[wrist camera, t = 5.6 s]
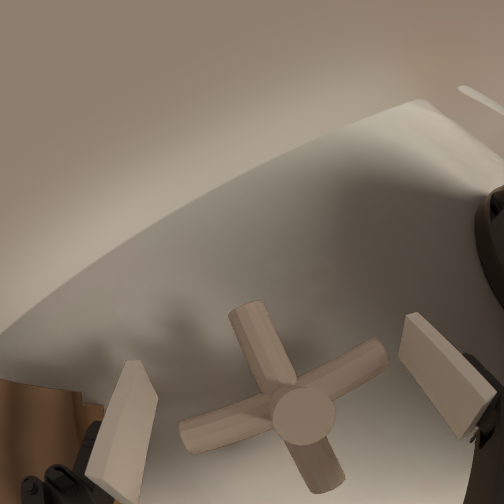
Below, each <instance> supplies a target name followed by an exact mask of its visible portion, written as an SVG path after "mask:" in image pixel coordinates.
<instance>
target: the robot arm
mask: <svg viewBox="0 0 504 504" xmlns="http://www.w3.org/2000/svg"><path fill="white" fill-rule="evenodd" d="M475 234H476V241H477V246H478V251H479V255H480V258H481V262H482V265H483V268H484V270H485V273H486V276H487V278H488V280H489V283H490V285H491V287H492V289H493V291H494V293H495V295H496V296H497V298H498V300H499V301H500V303H501V304H502V306H503V307H504V185H503V186H501V187H499V188H497V189H495V190H493V191H492V192H491V193H490V194H489V195H488V196H487V197H486V198H485V200H484V201H483V202H482V203H481V204H480V206H479V207H478V210H477V213H476V218H475ZM398 357H399V359H400V360H401V361H402V362H403V364H404V365H405V366H406V368H407V369H408V370H409V372H410V373H411V374H412V376H413V377H414V378H415V380H416V381H417V382H418V384H419V385H420V386H421V388H422V389H423V390H424V392H425V393H426V395H427V396H428V397H429V399H430V400H431V401H432V403H433V404H434V406H435V407H436V408H437V410H438V411H439V413H440V414H441V415H442V417H443V418H444V420H445V421H446V423H447V424H448V425H449V427H450V428H451V430H452V431H453V433H454V434H455V436H456V437H457V439H458V440H460V439H462V438H464V437H465V436H467V435H468V434H470V433H471V432H472V430H473V429H474V427H475V426H476V425H477V426H478V428H479V429H478V430H477V432H476V433H475V434H474V436H473V437H472V438H471V441H470V443H472V442H473V441H474V439H475V438H476V441H475V450H474V457H473V463H472V468H471V473H470V478H469V482H468V487H467V491H466V495H465V498H464V502H463V504H504V387H503V386H502V385H501V384H500V383H499V382H498V381H497V380H496V379H495V378H494V377H493V375H492V374H491V373H490V372H489V371H488V370H486V368H485V367H484V366H483V365H481V363H480V362H479V361H478V360H477V359H476V358H475V357H473V356H472V355H470V354H468V353H466V352H465V353H463V354H461V353H460V352H459V351H458V350H457V349H456V348H455V347H454V346H453V345H452V344H451V343H450V342H449V341H447V340H446V339H445V338H444V337H443V336H442V335H441V334H440V333H439V332H438V331H437V330H436V329H435V328H434V327H433V326H432V325H431V324H430V323H429V322H428V321H427V320H425V319H424V318H423V317H422V316H421V315H420V314H419V313H418V312H415V313H412V314H408V315H406V316H405V322H404V328H403V333H402V338H401V343H400V348H399V352H398ZM157 402H158V396H157V394H156V392H155V390H154V388H153V386H152V384H151V382H150V380H149V377H148V375H147V373H146V371H145V369H144V367H143V364H142V362H141V360H126V363H125V365H124V368H123V370H122V372H121V375H120V377H119V380H118V382H117V385H116V387H115V390H114V392H113V395H112V397H111V400H110V402H109V405H108V408H107V410H106V413H105V416H104V418H103V421H97V420H94V421H93V422H92V424H91V425H90V426H89V427H88V428H87V431H86V433H85V436H84V439H83V441H82V444H81V447H80V449H79V452H78V455H77V458H76V461H75V463H74V466H73V469H72V471H71V470H70V469H68V468H67V467H66V466H64V465H62V464H54V465H52V466H50V467H48V469H47V470H46V471H45V474H44V482H43V481H41V480H40V479H39V478H37V477H36V476H32V475H30V476H27V477H25V478H24V479H23V480H22V482H21V487H20V490H21V503H22V504H114V499H116V500H117V501H119V502H120V503H121V504H138V503H139V497H140V490H141V484H142V478H143V472H144V467H145V461H146V456H147V450H148V445H149V440H150V435H151V430H152V425H153V421H154V416H155V411H156V407H157Z"/></svg>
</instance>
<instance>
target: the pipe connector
mask: <svg viewBox="0 0 504 504" xmlns="http://www.w3.org/2000/svg"><path fill="white" fill-rule="evenodd" d="M228 318H229V320H230V322H231V325H232V327H233V330H234V332H235V334H236V337H237V339H238V341H239V344H240V346H241V348H242V351H243V353H244V355H245V358H246V360H247V362H248V364H249V367H250V369H251V371H252V373H253V376H254V378H255V380H256V382H257V385H258V387H259V389H260V391H261V393H260V394H258V395H255V396H253V397H250V398H248V399H245V400H242V401H240V402H237V403H234V404H232V405H229V406H226V407H223V408H220V409H217V410H215V411H212V412H208V413H205V414H202V415H199V416H196V417H193V418H189V419H186V420H182V421H180V422H179V424H178V427H179V434H180V436H181V439H182V442H183V444H184V445H185V447H186V449H187V450H188V451H189V452H190V453H191V454H198V453H202V452H205V451H209V450H212V449H216V448H219V447H222V446H225V445H229V444H232V443H235V442H238V441H241V440H244V439H246V438H249V437H252V436H255V435H257V434H260V433H263V432H265V431H268V430H270V429H273V428H275V430H276V432H277V433H278V435H279V436H280V437H281V438H282V439H283V440H284V442H285V444H286V446H287V448H288V450H289V452H290V454H291V455H292V457H293V459H294V461H295V463H296V465H297V467H298V469H299V471H300V473H301V475H302V477H303V479H304V481H305V482H306V484H307V486H308V488H309V490H310V492H312V493H314V494H321V493H325V492H328V491H331V490H333V489H335V488H336V487H338V486H339V485H341V484H342V483H343V481H344V480H345V474H344V472H343V470H342V468H341V466H340V464H339V462H338V460H337V458H336V456H335V454H334V452H333V450H332V448H331V446H330V444H329V442H328V440H327V437H326V435H327V434H328V433H329V432H330V430H331V428H332V426H333V424H334V421H335V408H334V404H333V402H332V401H333V400H335V399H337V398H339V397H340V396H342V395H344V394H346V393H348V392H349V391H351V390H353V389H355V388H356V387H358V386H360V385H362V384H363V383H365V382H367V381H368V380H370V379H371V378H373V377H375V376H376V375H378V374H379V373H381V372H382V371H384V370H386V369H387V368H388V367H389V357H388V354H387V351H386V350H385V348H384V347H383V345H382V344H381V343H380V342H379V341H378V340H377V339H374V338H371V339H369V340H367V341H366V342H364V343H362V344H360V345H359V346H357V347H355V348H353V349H352V350H350V351H348V352H346V353H344V354H343V355H341V356H339V357H337V358H335V359H333V360H331V361H329V362H327V363H326V364H324V365H322V366H320V367H318V368H316V369H314V370H312V371H310V372H307V373H305V374H303V375H301V376H299V377H297V375H296V372H295V370H294V368H293V366H292V364H291V362H290V360H289V358H288V355H287V353H286V351H285V349H284V347H283V345H282V343H281V341H280V338H279V336H278V334H277V332H276V330H275V328H274V325H273V323H272V321H271V319H270V317H269V315H268V313H267V310H266V308H265V306H264V304H263V302H262V301H260V300H259V301H253V302H250V303H247V304H244V305H242V306H240V307H238V308H236V309H234V310H233V311H232V312H230V313H229V315H228Z"/></svg>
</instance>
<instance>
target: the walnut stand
mask: <svg viewBox="0 0 504 504" xmlns="http://www.w3.org/2000/svg"><path fill="white" fill-rule="evenodd" d="M103 418H104V411H103V405H93V404H83V403H82V397H81V392H75V391H66V390H58V389H51V388H44V387H38V386H32V385H26V384H21V383H16V382H11V381H7V380H3V379H0V504H22V503H21V490H20V487H21V482H22V480H23V479H24V478H25V477H27V476H30V475H32V476H36V477H37V478H39V479H40V480H41V481H43V482H44V474H45V471H46V470H47V469H48V467H50V466H52V465H54V464H62V465H64V466H66V467H67V468H68V469H70V470H71V471H72V469H73V466H74V463H75V461H76V458H77V455H78V452H79V449H80V447H81V444H82V441H83V439H84V436H85V433H86V431H87V428H88V427H89V426H90V425H91V424H92V422H93V421H94V420H97V421H103ZM114 504H121V503H120V502H119V501H117V500H116V499H114Z"/></svg>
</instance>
